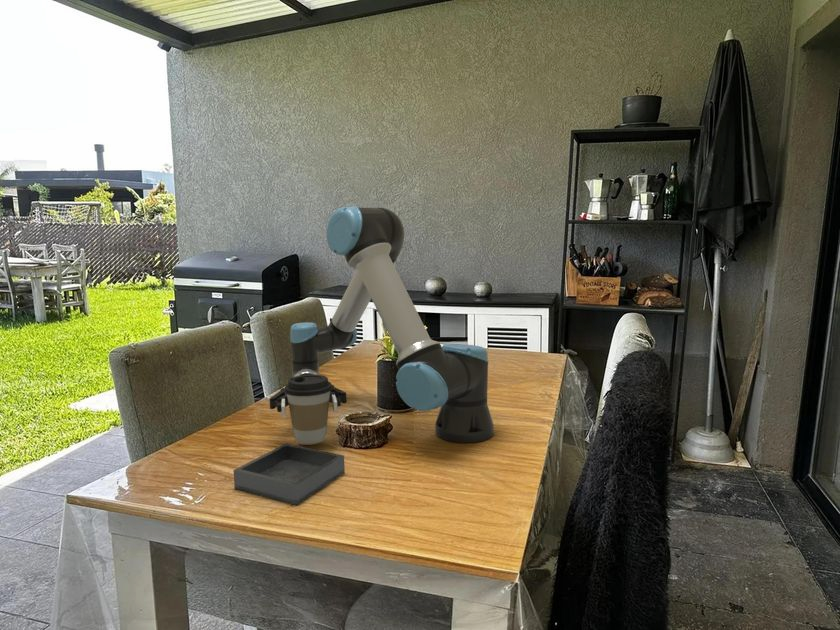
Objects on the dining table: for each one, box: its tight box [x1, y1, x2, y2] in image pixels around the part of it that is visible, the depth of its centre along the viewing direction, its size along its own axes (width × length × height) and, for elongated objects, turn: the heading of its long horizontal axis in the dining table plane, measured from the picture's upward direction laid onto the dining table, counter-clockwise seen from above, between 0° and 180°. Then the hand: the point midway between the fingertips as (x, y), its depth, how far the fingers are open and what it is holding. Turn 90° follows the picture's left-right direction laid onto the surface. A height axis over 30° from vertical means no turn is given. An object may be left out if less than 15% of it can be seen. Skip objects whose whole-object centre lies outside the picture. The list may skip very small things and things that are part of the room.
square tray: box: [233, 443, 345, 506], centre depth 117 cm, size 16×16×4 cm
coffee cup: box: [284, 374, 333, 445], centre depth 134 cm, size 11×11×15 cm
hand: (309, 410), depth 130 cm, fingers closed on coffee cup, 11 cm apart
